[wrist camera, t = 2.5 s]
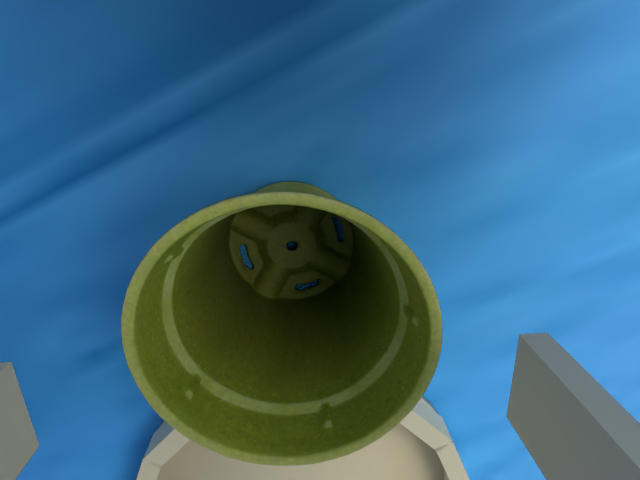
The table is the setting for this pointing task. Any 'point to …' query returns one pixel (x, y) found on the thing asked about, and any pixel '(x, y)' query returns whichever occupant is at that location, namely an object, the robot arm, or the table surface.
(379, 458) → the saucer
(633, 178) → the table surface
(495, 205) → the table surface
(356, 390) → the plant pot
